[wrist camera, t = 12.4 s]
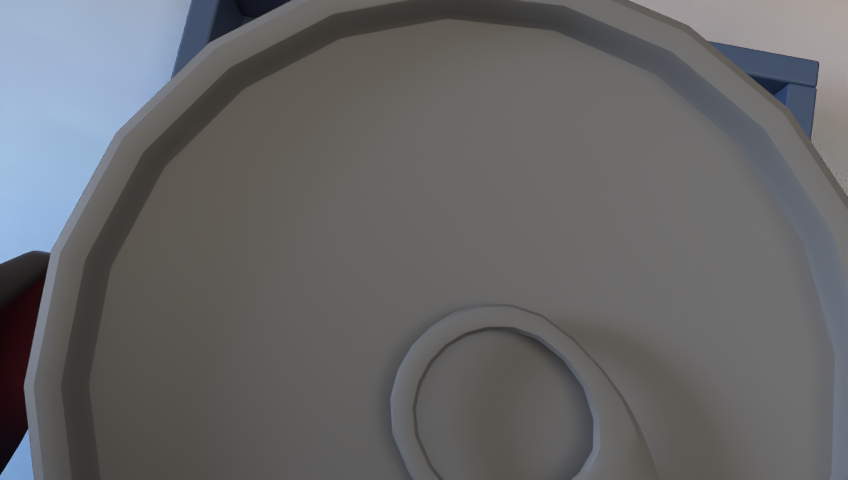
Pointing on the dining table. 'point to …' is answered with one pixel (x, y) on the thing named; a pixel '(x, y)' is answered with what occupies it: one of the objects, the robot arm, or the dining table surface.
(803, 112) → the tray
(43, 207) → the dining table surface
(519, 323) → the beer can
